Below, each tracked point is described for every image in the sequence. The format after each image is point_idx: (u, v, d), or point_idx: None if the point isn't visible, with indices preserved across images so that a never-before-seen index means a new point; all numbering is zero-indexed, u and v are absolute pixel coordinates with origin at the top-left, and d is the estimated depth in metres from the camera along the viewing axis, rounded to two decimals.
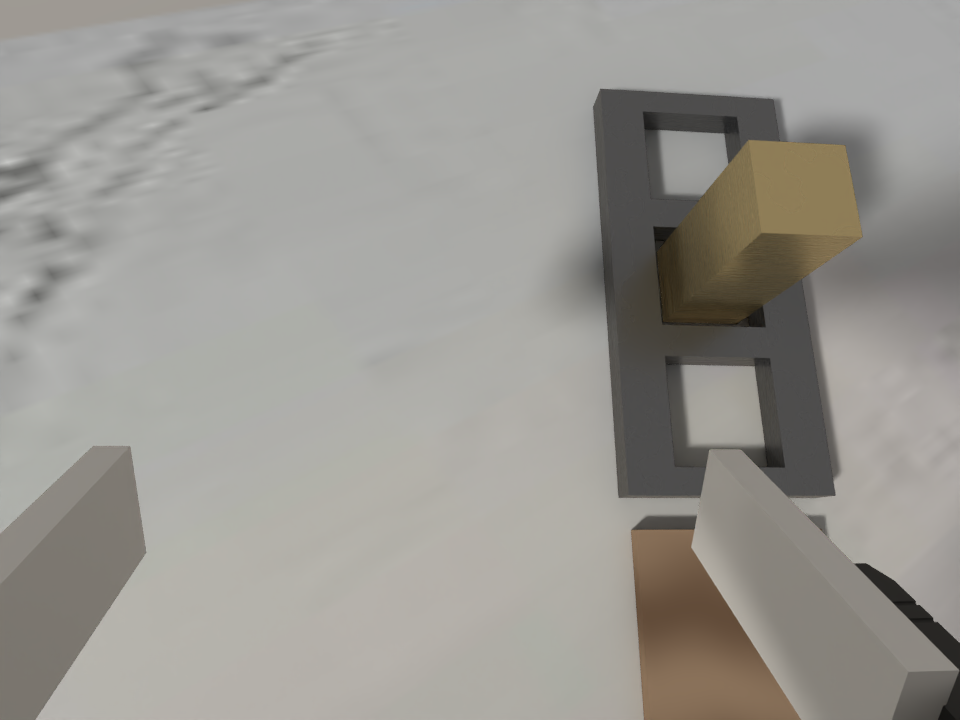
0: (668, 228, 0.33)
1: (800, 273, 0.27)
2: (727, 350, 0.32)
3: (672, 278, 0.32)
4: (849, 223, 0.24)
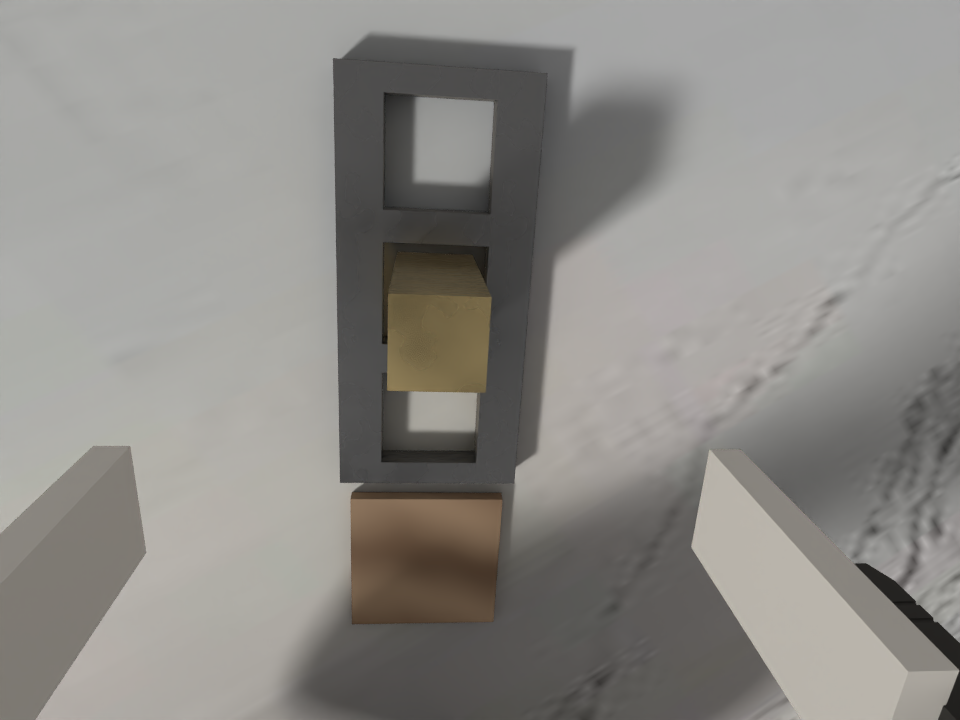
0: None
1: None
2: None
3: None
4: (475, 380, 0.26)
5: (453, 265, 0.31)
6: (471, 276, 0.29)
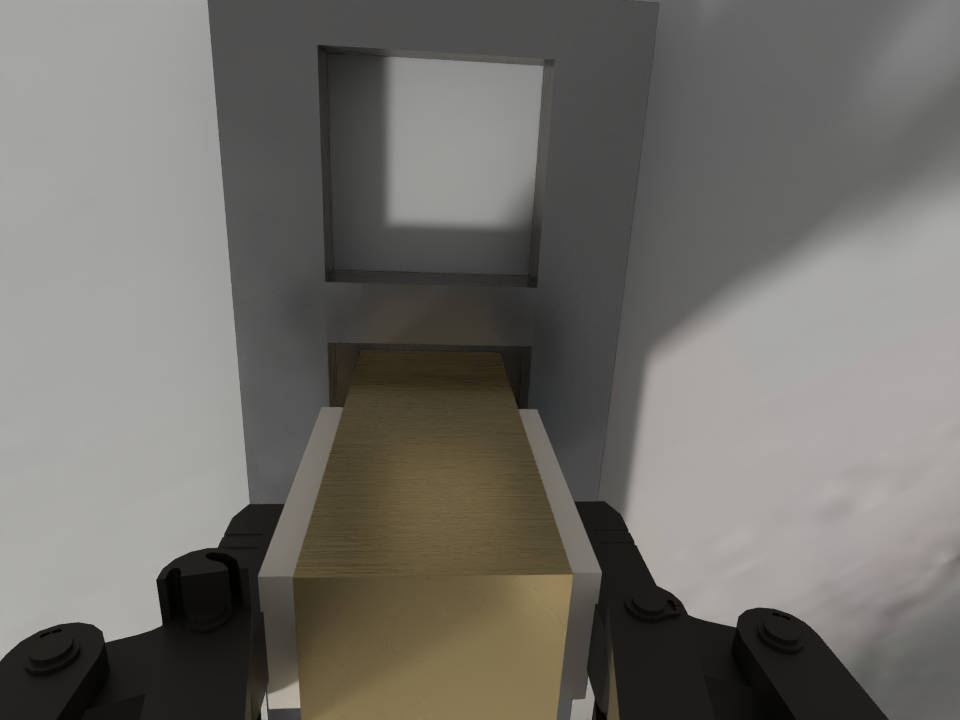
0: None
1: None
2: None
3: None
4: None
5: (465, 397, 0.15)
6: (507, 447, 0.13)
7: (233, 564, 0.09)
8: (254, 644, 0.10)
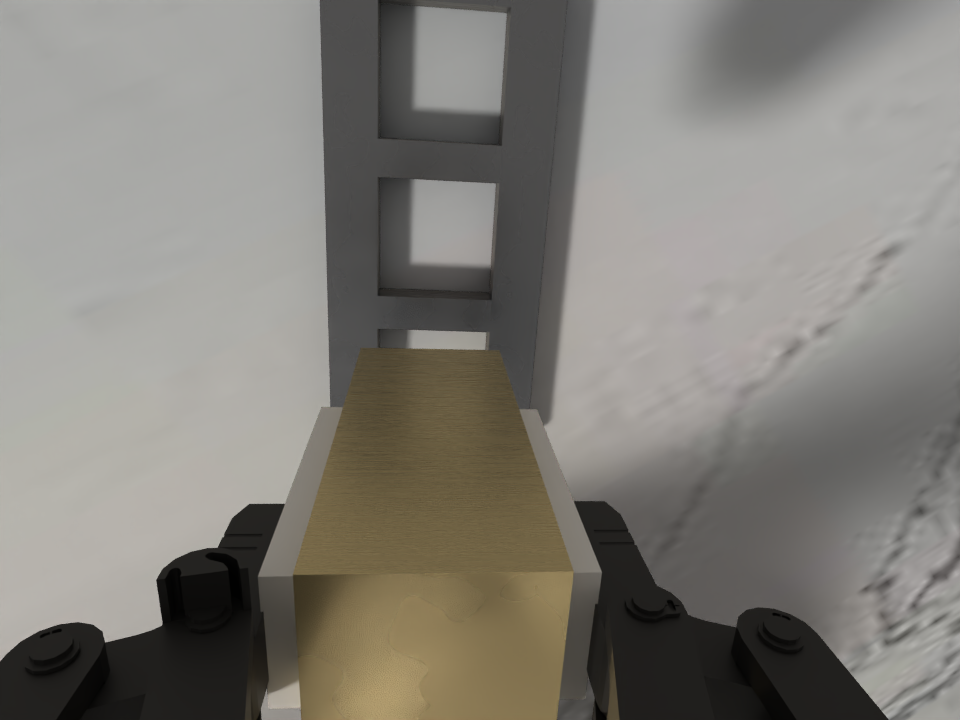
0: None
1: None
2: (445, 324, 0.31)
3: None
4: None
5: (466, 395, 0.15)
6: (507, 444, 0.13)
7: (233, 564, 0.09)
8: (254, 644, 0.10)
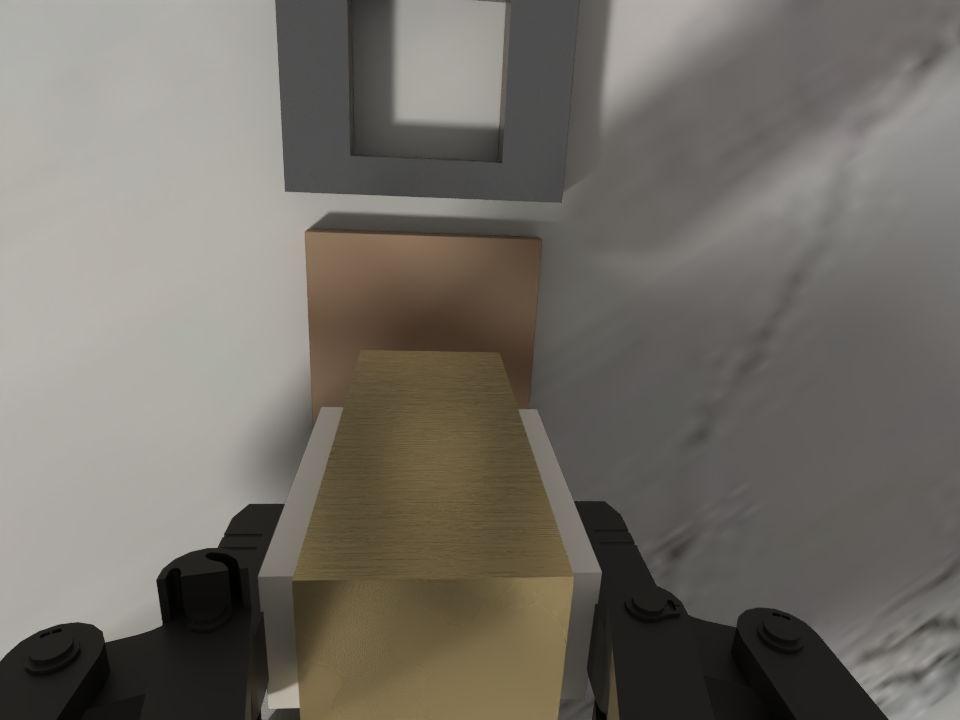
0: None
1: None
2: None
3: None
4: None
5: (466, 397, 0.15)
6: (507, 448, 0.13)
7: (233, 564, 0.09)
8: (254, 644, 0.10)
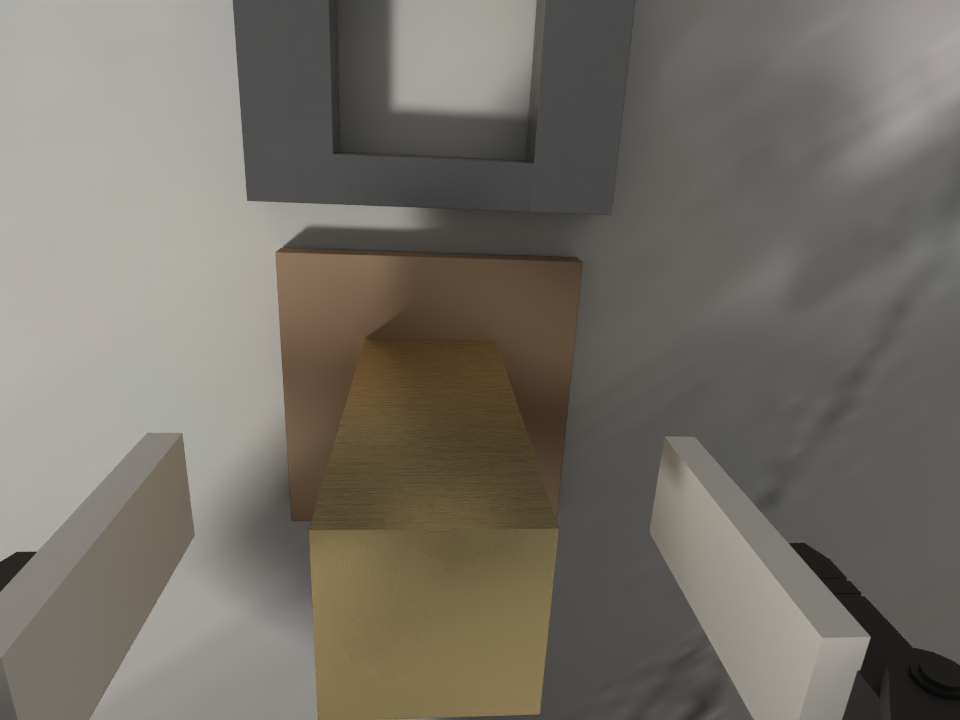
0: None
1: None
2: None
3: None
4: (518, 692, 0.12)
5: (464, 379, 0.16)
6: (501, 423, 0.14)
7: None
8: None
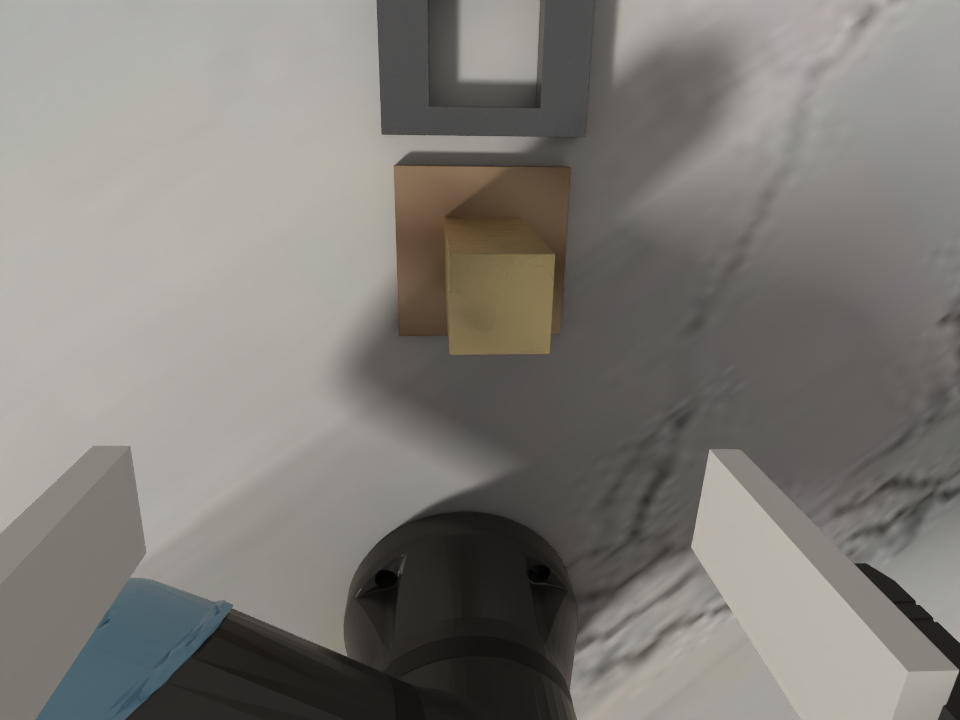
0: None
1: None
2: None
3: None
4: (539, 341, 0.25)
5: (505, 227, 0.30)
6: (527, 236, 0.28)
7: None
8: None
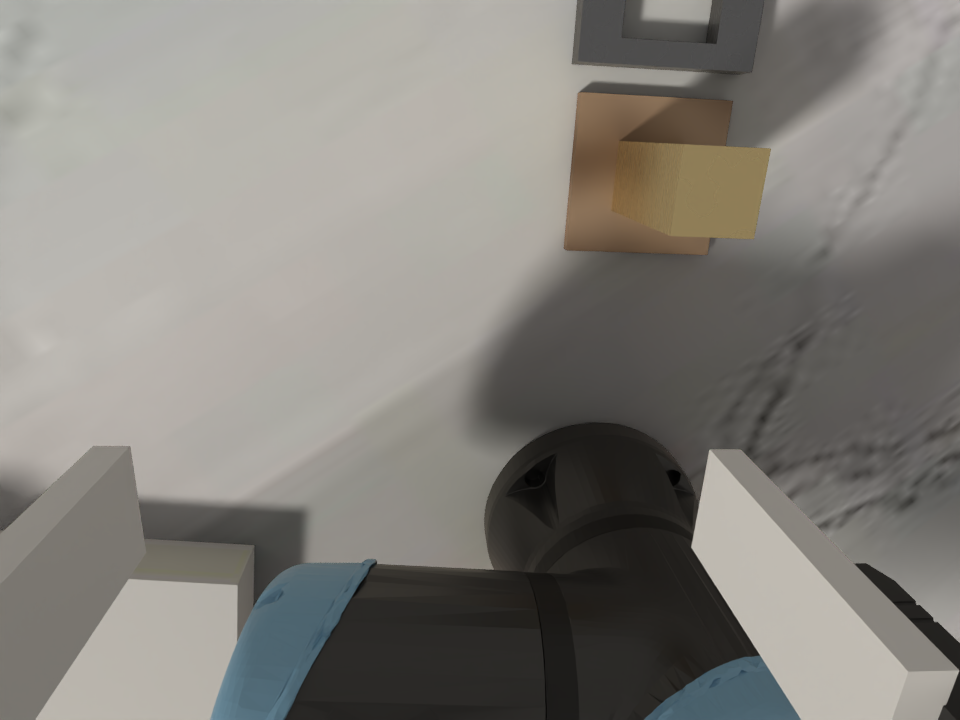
0: None
1: None
2: None
3: (622, 183, 0.36)
4: (747, 227, 0.29)
5: None
6: None
7: None
8: None
